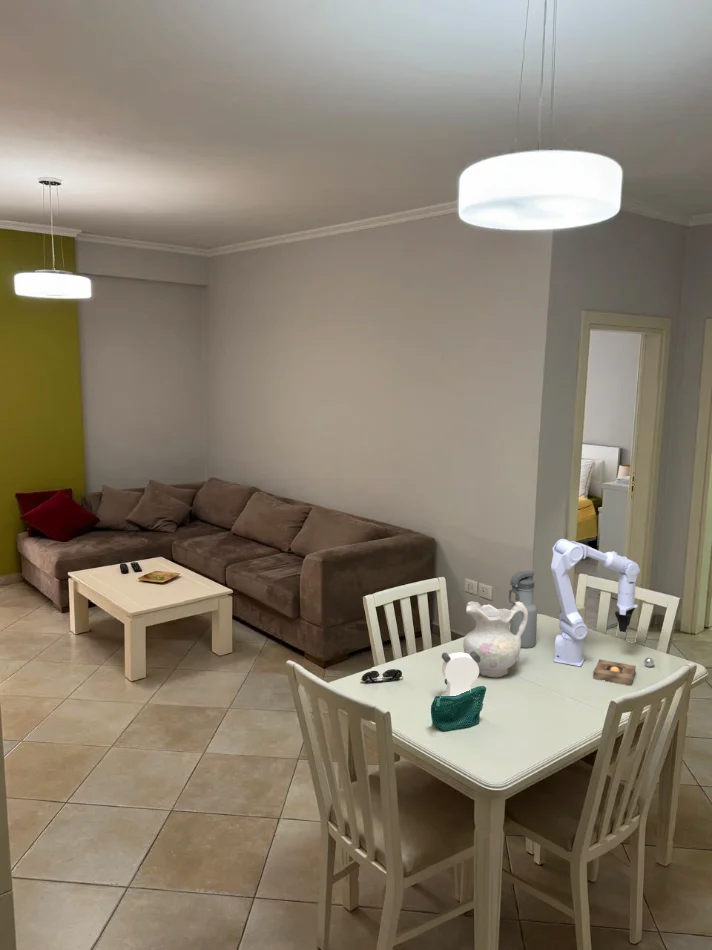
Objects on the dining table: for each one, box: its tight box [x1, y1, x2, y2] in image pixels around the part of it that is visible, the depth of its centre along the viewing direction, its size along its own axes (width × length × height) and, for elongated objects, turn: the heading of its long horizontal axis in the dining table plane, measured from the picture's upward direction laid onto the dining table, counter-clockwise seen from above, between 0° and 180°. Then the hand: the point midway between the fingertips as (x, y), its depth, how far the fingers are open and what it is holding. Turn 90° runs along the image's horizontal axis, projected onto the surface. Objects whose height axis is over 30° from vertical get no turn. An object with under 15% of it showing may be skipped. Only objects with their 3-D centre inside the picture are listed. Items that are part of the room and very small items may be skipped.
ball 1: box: [610, 667, 620, 672], centre depth 247 cm, size 3×3×3 cm
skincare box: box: [576, 604, 586, 625], centre depth 284 cm, size 6×4×12 cm
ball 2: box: [643, 656, 655, 668], centre depth 255 cm, size 3×3×3 cm
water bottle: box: [508, 570, 538, 649], centre depth 274 cm, size 10×10×28 cm
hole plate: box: [592, 659, 637, 686], centre depth 247 cm, size 12×12×2 cm
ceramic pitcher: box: [462, 601, 528, 679], centre depth 250 cm, size 22×20×25 cm
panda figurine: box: [440, 651, 481, 697], centre depth 228 cm, size 12×11×15 cm
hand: (624, 628), depth 264 cm, fingers open, 7 cm apart
